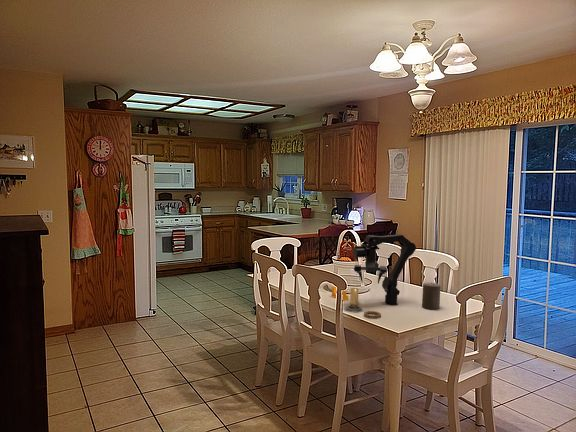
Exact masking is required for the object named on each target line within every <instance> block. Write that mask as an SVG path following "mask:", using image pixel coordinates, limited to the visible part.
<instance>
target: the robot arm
mask: <svg viewBox="0 0 576 432" xmlns="http://www.w3.org/2000/svg"><path fill="white" fill-rule="evenodd" d="M395 242H396V243H398V244H399V245H400V246H401V247H400V255H399V257H398V258H397V261H396V263H395V264H394V266H393V268H392V270H391V273H390V275H388V276H384V278H383V280H382V281H381V284H382V285H381V286H382V289H383V290H384V292H385V296H384V297H385V298H384V303H385V305H389V306H398V304H399V303H398V296H400V291H401V290H399V289H398V288H397V286H398V279H399V276H400V275H401V273H402V271H403V269H404V267H405V265H406V263H407V261H408V259H409V258H410V257H411V256H412V255H413V254H414V252H415V251H416V250H417V246H416V244H415V243H414V242H411V241H410V240H409V239H408V238H406V237H405V236H404V235H403V234H398V233H397V234H388V235H372V234H369V235H366V237H365V238H364V241H363V242H362V243H361V245H354V248H353V250H352V255H353V258H365V266H362V265H360V264H355V265H354V266H353V267H354V269H353V271H354V272H356V274H358V275H359V277H360V281H361V284H363V272H362V271H366V272H368V273H375V272H377V271H378V277H377V284H378V285H379V283H380V280H381V278H382V276H383V275H385V274H386V273H388V268H387V266H384V265H380V264H379V263H378V262H376V261H377V259H376V258H377V257H376V256H377V250H380V248H379V245H381V244H385V243H386V244H387V243H395ZM379 265H380V266H379Z"/></svg>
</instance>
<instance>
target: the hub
mask: <svg viewBox="0 0 576 432" xmlns="http://www.w3.org/2000/svg"><path fill="white" fill-rule="evenodd" d="M344 310H345V311H346V312H348V311H349V313H362V312H363V311H364V307H362V306H360V305H358V309H351V308H350V304H349V305H347V306H345V307H344Z"/></svg>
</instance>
